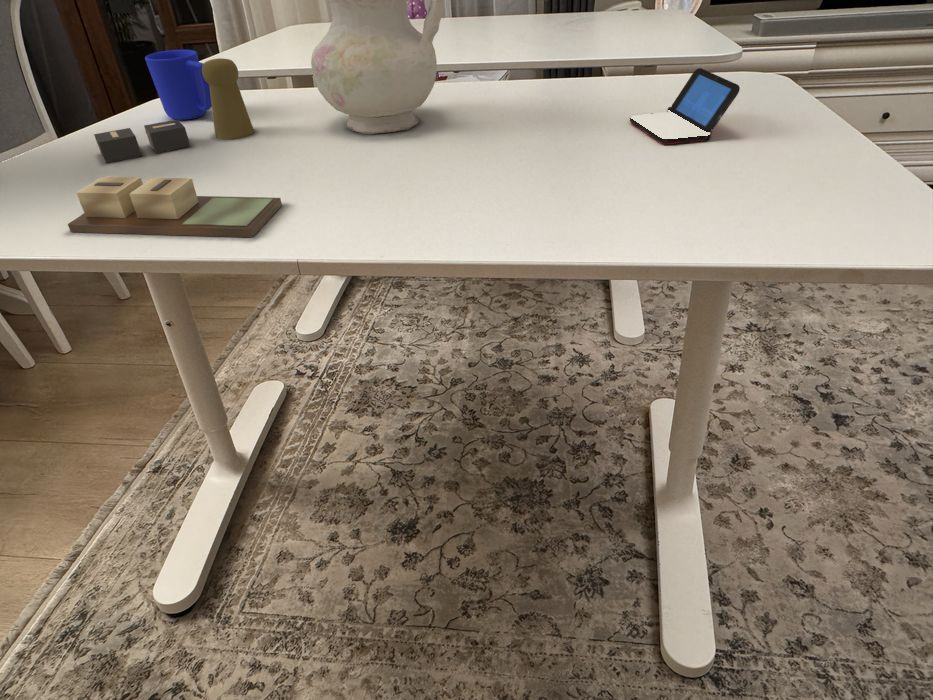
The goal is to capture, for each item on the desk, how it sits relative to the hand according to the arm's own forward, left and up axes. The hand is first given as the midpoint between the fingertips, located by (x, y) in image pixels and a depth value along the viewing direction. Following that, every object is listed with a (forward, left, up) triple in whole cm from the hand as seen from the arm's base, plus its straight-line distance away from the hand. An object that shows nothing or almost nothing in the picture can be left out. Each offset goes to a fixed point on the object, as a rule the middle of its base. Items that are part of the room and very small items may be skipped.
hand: (157, 5), depth 83 cm
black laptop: (+34, +62, -20) cm, 74 cm away
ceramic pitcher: (+3, +30, -20) cm, 36 cm away
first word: (-8, -6, -20) cm, 22 cm away
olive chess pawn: (-8, +8, -20) cm, 23 cm away
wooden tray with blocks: (+22, -8, -20) cm, 30 cm away
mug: (-22, +4, -20) cm, 30 cm away
